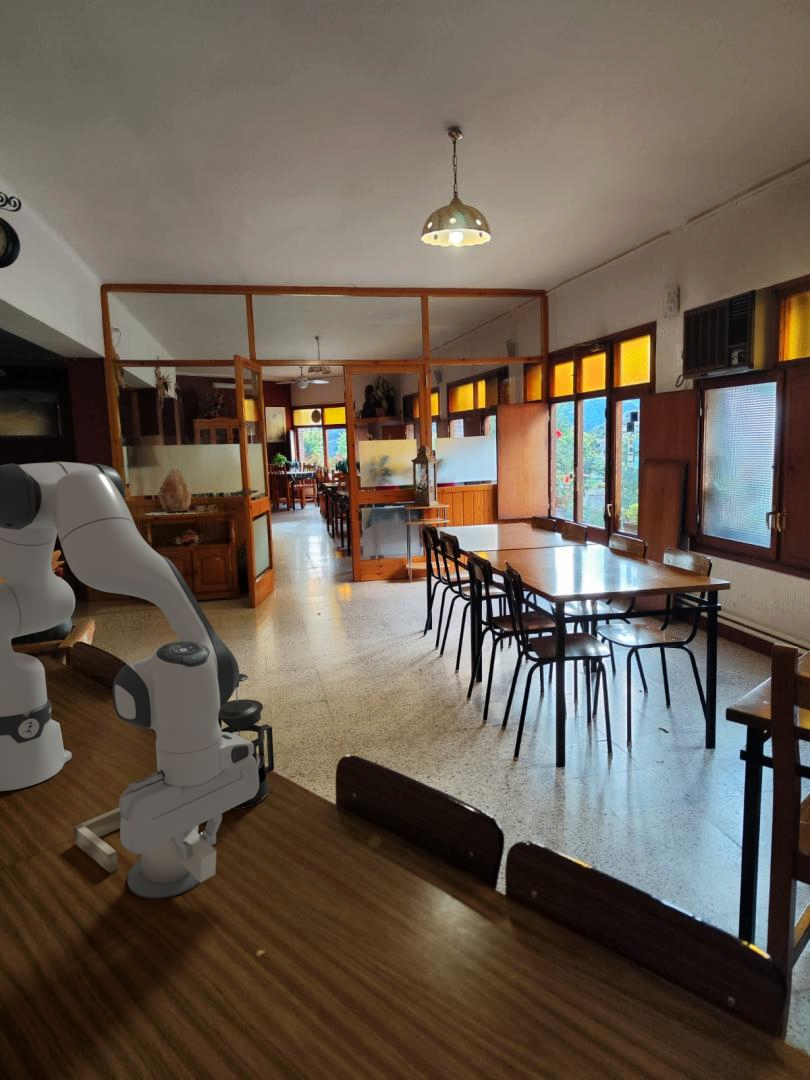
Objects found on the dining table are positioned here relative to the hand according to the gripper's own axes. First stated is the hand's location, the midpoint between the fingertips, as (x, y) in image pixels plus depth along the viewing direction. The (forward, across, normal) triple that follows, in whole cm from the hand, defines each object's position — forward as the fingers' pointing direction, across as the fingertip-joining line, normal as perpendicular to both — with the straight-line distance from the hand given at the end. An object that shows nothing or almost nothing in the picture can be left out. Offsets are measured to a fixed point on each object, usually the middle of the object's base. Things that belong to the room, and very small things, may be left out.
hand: (197, 850), depth 94 cm
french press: (+7, +21, +18) cm, 28 cm away
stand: (+7, 0, +21) cm, 22 cm away
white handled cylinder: (+6, 0, +5) cm, 8 cm away
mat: (+7, 0, +8) cm, 10 cm away
